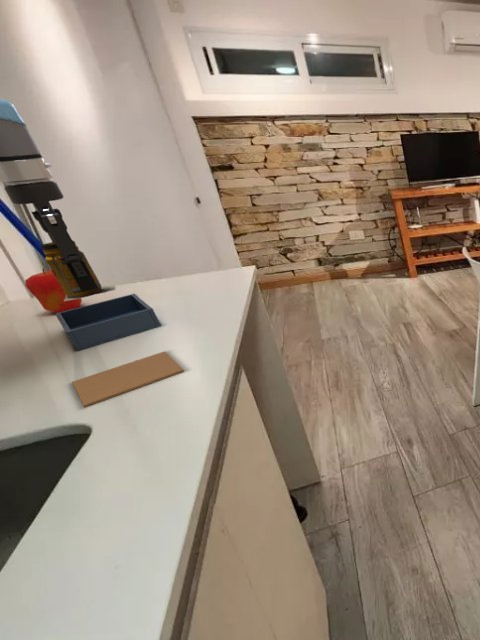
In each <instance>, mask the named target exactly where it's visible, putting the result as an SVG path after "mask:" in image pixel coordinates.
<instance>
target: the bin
mask: <svg viewBox="0 0 480 640" xmlns="http://www.w3.org/2000/svg"><path fill="white" fill-rule="evenodd" d="M54 315H55V317H56V319H57V320H58V322H59V324H60V325H61V328H62V329H63V330H64V332H65V334H66V335H67V338H68V339H69V340H70V342H71V343H72V345H73V347H74V348H75V350H76V351H77V352H78V351H81V350H86V349H88V348H91V347H95V346H99V345H102V344H105V343H108V342H112V341H115V340H118V339H122V338H126V337H129V336H132V335H135V334H139V333H142V332H145V331H149V330H153V329H155V328H159V327H161V326H162V324H161V322H160V320H159V318H158V316H157V315H156V313H155V310H154V308H153V307H151V306H150V305H149V304H148V303H147V302H146V301H144V300H143V299H141V298H140V296H138V295H137V294H136V293H131V294H127V295H122V296H119V297H114V298H111V299H107V300H103V301H100V302H99V301H98V302H96V303H91V304H87V305H84V306H83V305H82V306H80V307H79V308H75V309H71V310H67V311H63V312H60V313H55V312H54Z"/></svg>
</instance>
